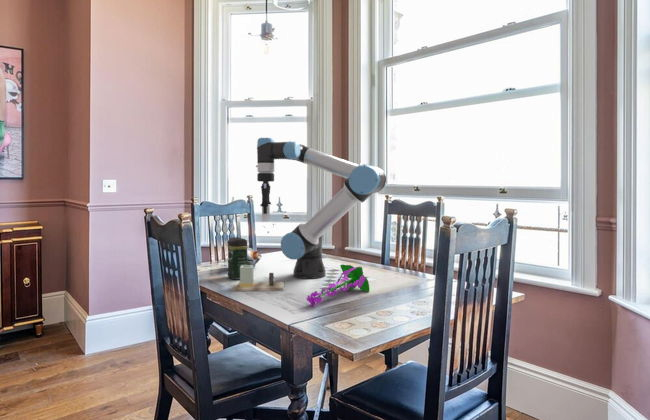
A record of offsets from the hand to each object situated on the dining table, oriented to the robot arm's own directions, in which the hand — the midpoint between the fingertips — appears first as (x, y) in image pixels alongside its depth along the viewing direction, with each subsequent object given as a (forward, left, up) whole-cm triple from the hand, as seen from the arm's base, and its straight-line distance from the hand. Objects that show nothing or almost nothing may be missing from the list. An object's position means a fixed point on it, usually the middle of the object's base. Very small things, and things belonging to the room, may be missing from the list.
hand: (266, 220), depth 191 cm
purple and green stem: (-30, +33, -27) cm, 52 cm away
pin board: (+2, +17, -27) cm, 32 cm away
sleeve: (+7, +17, -26) cm, 32 cm away
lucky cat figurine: (+12, -22, -27) cm, 37 cm away
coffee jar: (+13, -2, -27) cm, 30 cm away
